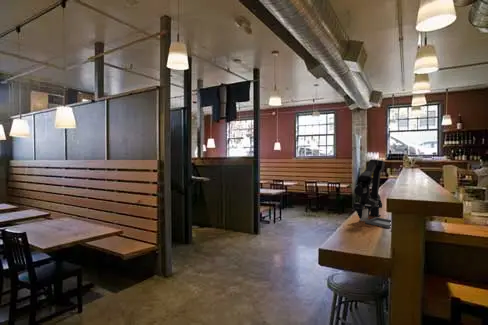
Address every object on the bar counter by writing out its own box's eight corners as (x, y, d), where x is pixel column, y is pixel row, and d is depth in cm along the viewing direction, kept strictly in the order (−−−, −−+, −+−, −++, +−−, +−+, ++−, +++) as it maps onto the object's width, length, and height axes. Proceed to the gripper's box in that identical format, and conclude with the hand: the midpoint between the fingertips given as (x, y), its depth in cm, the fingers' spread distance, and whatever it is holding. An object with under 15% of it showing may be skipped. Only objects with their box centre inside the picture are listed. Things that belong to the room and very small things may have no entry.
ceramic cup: (362, 219, 211) (362, 207, 210) (369, 220, 207) (369, 208, 206) (358, 220, 207) (358, 208, 207) (365, 221, 204) (365, 209, 203)
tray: (376, 220, 208) (376, 217, 208) (399, 224, 197) (400, 221, 197) (365, 223, 198) (365, 220, 198) (388, 228, 187) (388, 225, 187)
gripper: (369, 196, 194) (368, 221, 195) (383, 194, 206) (382, 217, 207) (352, 194, 202) (351, 218, 203) (367, 192, 215) (366, 214, 215)
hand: (363, 217), depth 207 cm, fingers open, 9 cm apart
